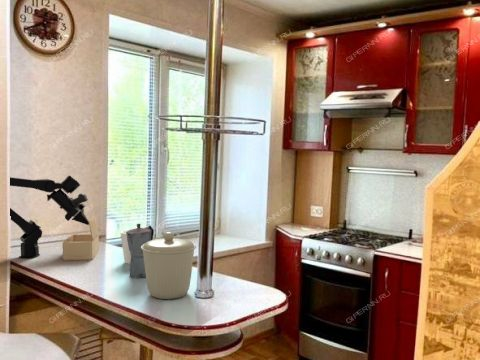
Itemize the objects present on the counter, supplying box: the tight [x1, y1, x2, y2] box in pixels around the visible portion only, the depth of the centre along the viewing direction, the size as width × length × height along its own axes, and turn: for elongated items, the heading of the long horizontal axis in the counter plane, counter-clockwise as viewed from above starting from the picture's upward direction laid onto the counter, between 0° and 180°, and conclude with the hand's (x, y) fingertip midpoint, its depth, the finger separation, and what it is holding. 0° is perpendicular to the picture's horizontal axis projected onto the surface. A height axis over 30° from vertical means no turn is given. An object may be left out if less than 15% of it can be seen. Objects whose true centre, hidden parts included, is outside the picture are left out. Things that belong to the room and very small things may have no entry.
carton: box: [62, 233, 100, 262], centre depth 205 cm, size 12×19×8 cm, turn 9°
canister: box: [141, 231, 197, 300], centre depth 151 cm, size 18×18×21 cm
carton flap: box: [88, 215, 100, 240], centre depth 205 cm, size 8×16×1 cm
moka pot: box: [126, 223, 155, 279], centre depth 175 cm, size 10×15×20 cm, turn 158°
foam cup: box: [120, 229, 131, 265], centre depth 194 cm, size 10×9×13 cm
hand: (89, 224), depth 210 cm, fingers closed
